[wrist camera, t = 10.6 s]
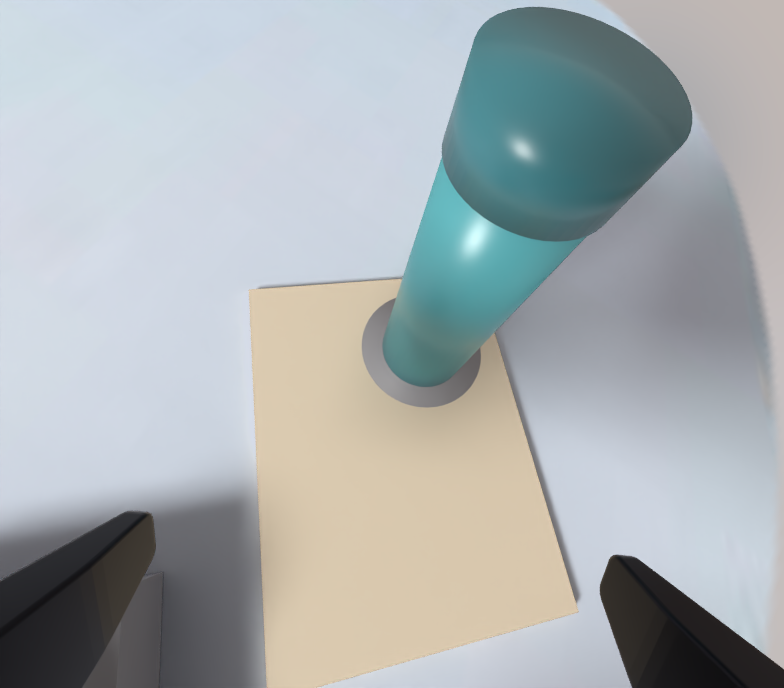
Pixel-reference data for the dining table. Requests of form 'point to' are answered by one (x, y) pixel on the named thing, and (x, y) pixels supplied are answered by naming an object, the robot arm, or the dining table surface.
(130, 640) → the button housing
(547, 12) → the ball
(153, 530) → the robot arm
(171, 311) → the dining table surface
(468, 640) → the sheet
